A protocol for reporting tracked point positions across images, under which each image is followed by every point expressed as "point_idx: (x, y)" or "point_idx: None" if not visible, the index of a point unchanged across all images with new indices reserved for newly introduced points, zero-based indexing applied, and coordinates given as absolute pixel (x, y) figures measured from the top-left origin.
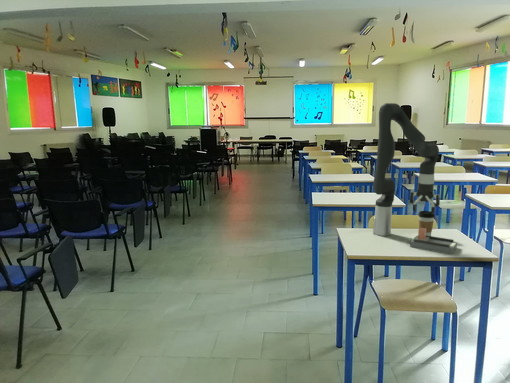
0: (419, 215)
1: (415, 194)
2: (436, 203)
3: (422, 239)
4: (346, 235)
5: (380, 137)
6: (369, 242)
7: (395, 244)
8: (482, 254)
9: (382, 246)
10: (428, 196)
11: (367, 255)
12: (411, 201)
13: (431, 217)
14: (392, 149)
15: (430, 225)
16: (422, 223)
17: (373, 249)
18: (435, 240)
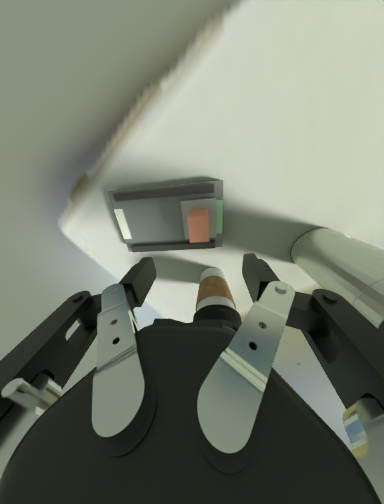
0: (235, 312)
1: (373, 460)
2: (71, 312)
3: (194, 209)
4: None
5: None
6: (359, 129)
7: (264, 173)
8: (80, 233)
9: (305, 113)
10: (102, 412)
11: None
12: (326, 303)
13: (197, 312)
14: None
15: (199, 293)
16: (219, 290)
17: (343, 27)
18: (169, 235)
